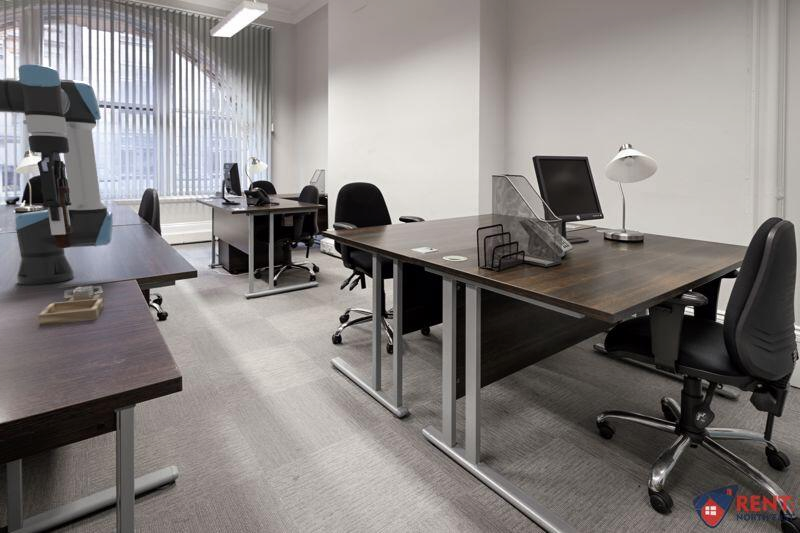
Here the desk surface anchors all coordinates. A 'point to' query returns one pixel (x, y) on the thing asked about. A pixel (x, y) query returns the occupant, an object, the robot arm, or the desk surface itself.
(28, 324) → the desk surface
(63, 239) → the bolt
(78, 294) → the grey rectangular block
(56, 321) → the socket
